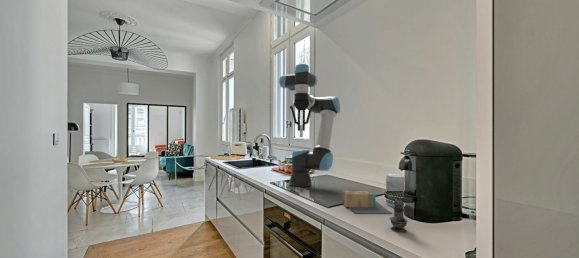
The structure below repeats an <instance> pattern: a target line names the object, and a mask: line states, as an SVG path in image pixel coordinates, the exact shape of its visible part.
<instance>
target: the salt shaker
mask: <svg viewBox="0 0 579 258" xmlns="http://www.w3.org/2000/svg"><path fill="white" fill-rule="evenodd" d="M404 211H405V209H404V207H403V201H402V200H401V199H399V197H398V199H395V201H394V207H393V216H392V217H390V218H389V220H390V223H391V225H392V226H391V227H390V230H391V231H393V232H396V233H401V234H402V233H406V232H407V229H406V226H407V223H408V221H409V220H407V219H406V218H405V217H404Z"/></svg>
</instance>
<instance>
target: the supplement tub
mask: <svg viewBox="0 0 579 258" xmlns="http://www.w3.org/2000/svg"><path fill="white" fill-rule="evenodd" d="M404 175H405V174H403V173H402V174H401V173H386V175H385V176H386V177H385V193H386V192H387V191H404V182H405V176H404ZM385 203H386V204H387V206H389V207H393V208H394V202H393V201H390V200H387V199H386V198H385ZM403 208H405V207H404V203H403Z"/></svg>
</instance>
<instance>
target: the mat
mask: <svg viewBox="0 0 579 258" xmlns="http://www.w3.org/2000/svg"><path fill="white" fill-rule="evenodd" d="M349 209H350V210H351V211H352V212H353V213H354V214H357V215H392V214H393V213H392V212H391V211H389V210H388V209H387V208H386V207H384V206H383V205H382V204H381V203H379V202H378V201H377V200H376V207H349Z"/></svg>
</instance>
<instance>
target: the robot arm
mask: <svg viewBox="0 0 579 258" xmlns="http://www.w3.org/2000/svg"><path fill="white" fill-rule="evenodd" d="M318 81H319V80H318V77H317V75H315V74H314V73H312V72H310V66H309V64H307V63H298V64H296V65H295V67H294V73H293V74H285V75H281V76H280V77H279V83H278V84H279V86H280V87H281V88H282V89H288V90H289V91H290V92H291V94H293V95H294V102H293V103H292V105H290V106H289V109H290V111H291V113H292V119H293V123H294V124H295V125H297V131H299V138H303V135H304V131H306V125H307V124H309V121H310V117H311V114H312V113H313V114H314V113H315V114H320V116H321V118H320V122H319V128H318V133H317V138H316V144H315V145H316V146H315V147H313V150H312V151H311V150H310V149H300V150H293V151H292V153H291V174H290V178H289V181H288V185H290V186H292V187H299V188H303V187H311V186H312V185H313V182H312V176H311V174H310V171H312V170H313V171H321V172H326V171H329V170H331V168H332V165H333V162H334V155H333V153H332V151H331V149H330V145H331V137H332V132H333V125H334V119H335V118H336V117H337V114H339V113H340V112H341V103H340V100H339V98H338V97H337V96H325V97H324V96H322V97H314V96H313V95H312V94H311V95H310V93H309V91H310V90H309V88H312V87H315V86H316V85H317V83H318ZM295 109H296V110H297V117H296V113H295ZM306 110H308V111H307V116H306ZM301 111H302V118H301ZM301 119H302V120H301ZM301 121H302V122H301ZM301 123H302V124H301Z"/></svg>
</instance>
